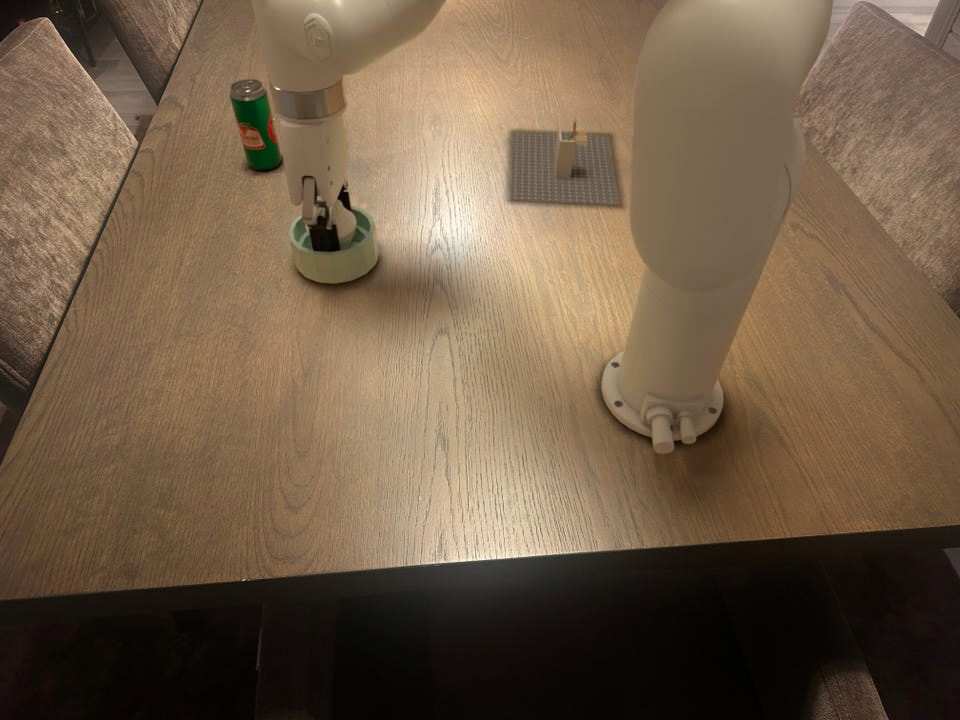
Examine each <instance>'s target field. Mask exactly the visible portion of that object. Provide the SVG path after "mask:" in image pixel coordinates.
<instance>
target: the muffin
mask: <svg viewBox="0 0 960 720" xmlns="http://www.w3.org/2000/svg"><path fill="white" fill-rule="evenodd" d="M320 200H323V199H322V198H321V199H320ZM325 201H326V200H325ZM332 213H333V224H336V226H337V232H338V238H339V244H340V250H346V249H348V247H349V244H350V242H351V240H352V238H353V236H354V234H355V229H356V226H357V221H356V218H355V216H354V214H353V213H352V212H350V211H349V210H347V209H346V208H344V207H343V204H342V202H341V201H340V200H338V199H337V200H336V202H335V203H334V204H333V205H332ZM317 214H318V215H320V216H323V217H325V208H321V207H317ZM306 230H307V232H308V234H309V235H310V233H309V229H308V228H307V224H306Z"/></svg>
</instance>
